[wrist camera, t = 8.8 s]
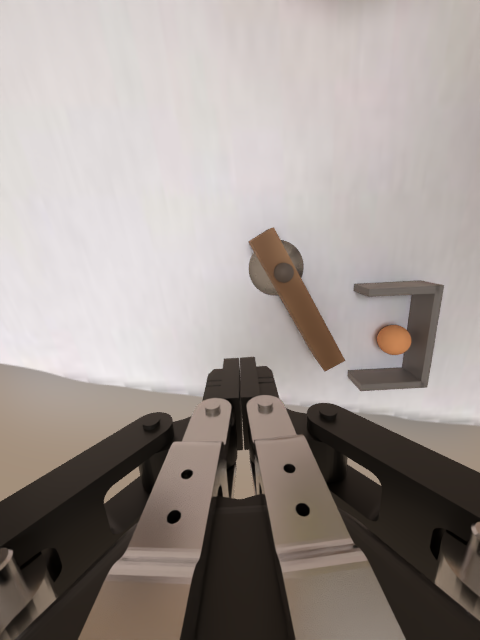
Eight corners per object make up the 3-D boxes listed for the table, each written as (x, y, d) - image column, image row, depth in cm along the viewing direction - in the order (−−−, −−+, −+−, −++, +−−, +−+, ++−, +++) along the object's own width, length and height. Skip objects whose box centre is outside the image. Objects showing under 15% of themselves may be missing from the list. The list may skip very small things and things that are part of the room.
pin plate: (303, 238, 29) (303, 238, 29) (302, 293, 31) (302, 293, 30) (247, 241, 29) (247, 241, 29) (249, 296, 30) (249, 296, 30)
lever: (267, 229, 28) (274, 226, 24) (331, 346, 32) (347, 363, 28) (248, 241, 29) (251, 241, 24) (313, 356, 32) (326, 374, 28)
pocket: (420, 280, 31) (443, 285, 27) (407, 372, 34) (427, 387, 30) (354, 283, 30) (369, 289, 27) (347, 376, 34) (360, 391, 30)
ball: (412, 323, 31) (414, 331, 28) (408, 350, 32) (410, 361, 29) (379, 320, 32) (377, 328, 30) (376, 346, 33) (374, 356, 30)
